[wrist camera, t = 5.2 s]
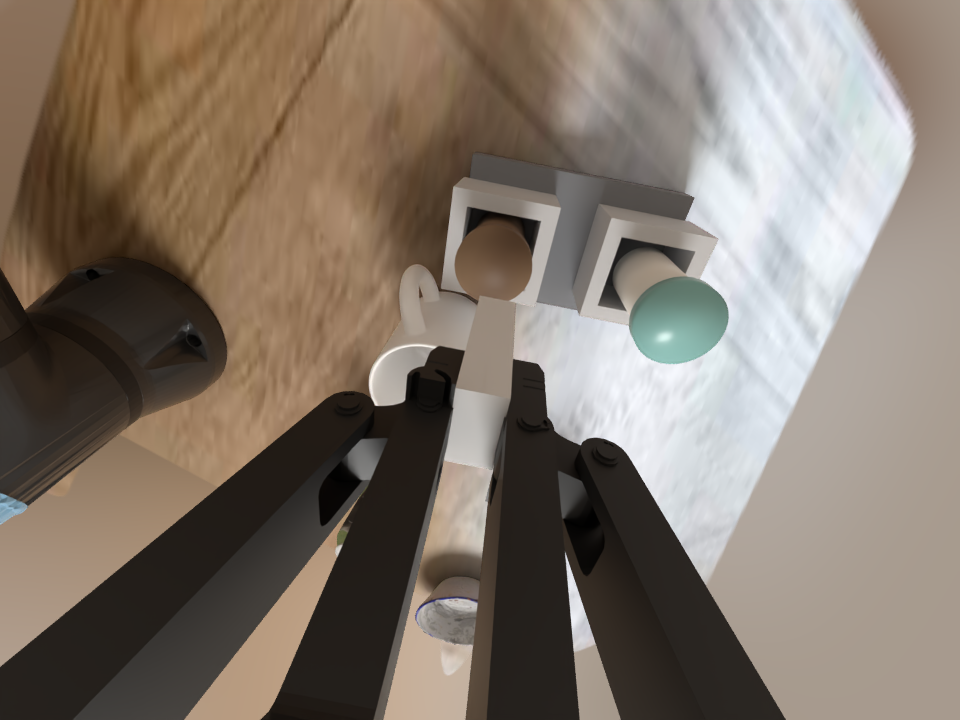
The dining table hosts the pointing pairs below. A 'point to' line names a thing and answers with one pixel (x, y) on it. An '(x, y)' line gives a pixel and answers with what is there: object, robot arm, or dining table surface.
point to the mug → (419, 333)
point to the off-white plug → (668, 307)
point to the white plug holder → (575, 230)
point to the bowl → (451, 611)
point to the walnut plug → (494, 258)
